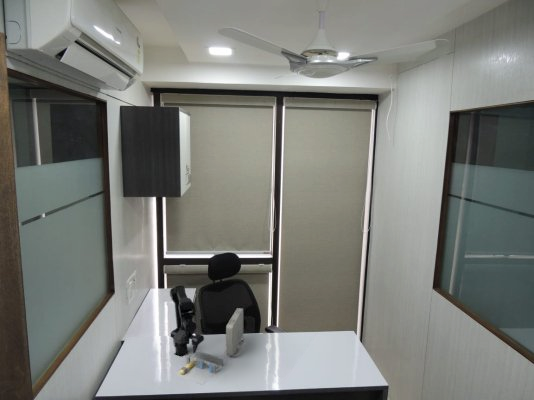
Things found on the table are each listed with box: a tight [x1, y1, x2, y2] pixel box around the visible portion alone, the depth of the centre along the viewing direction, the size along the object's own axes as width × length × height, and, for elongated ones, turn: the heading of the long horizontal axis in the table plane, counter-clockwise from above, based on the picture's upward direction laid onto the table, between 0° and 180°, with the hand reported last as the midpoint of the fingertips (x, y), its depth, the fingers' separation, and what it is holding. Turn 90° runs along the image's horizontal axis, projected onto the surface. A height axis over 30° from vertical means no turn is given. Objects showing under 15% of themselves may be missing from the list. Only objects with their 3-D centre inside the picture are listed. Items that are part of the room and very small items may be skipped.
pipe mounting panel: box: [174, 349, 224, 386], centre depth 188 cm, size 19×18×5 cm
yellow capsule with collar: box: [180, 361, 195, 375], centre depth 188 cm, size 11×3×2 cm, turn 153°
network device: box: [224, 307, 246, 357], centre depth 210 cm, size 26×9×20 cm, turn 170°
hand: (187, 350), depth 187 cm, fingers open, 9 cm apart
